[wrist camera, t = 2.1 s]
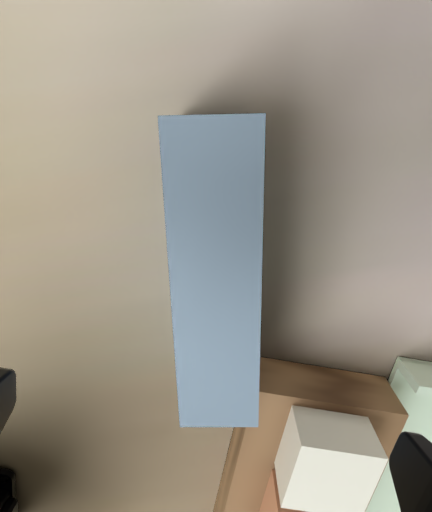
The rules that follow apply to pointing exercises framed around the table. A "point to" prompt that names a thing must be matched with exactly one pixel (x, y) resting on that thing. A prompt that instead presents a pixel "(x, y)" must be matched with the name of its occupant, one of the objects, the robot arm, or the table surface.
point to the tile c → (328, 461)
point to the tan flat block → (276, 414)
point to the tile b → (273, 497)
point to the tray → (419, 421)
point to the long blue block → (215, 262)
